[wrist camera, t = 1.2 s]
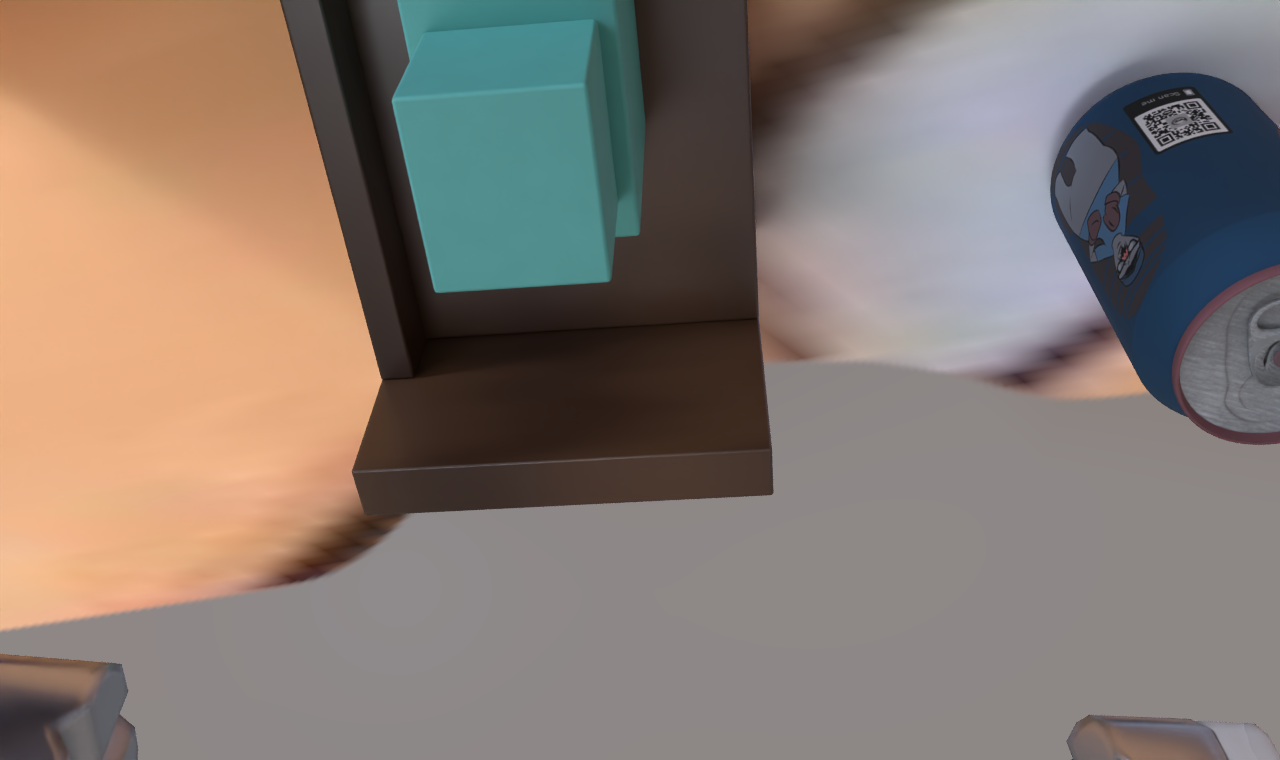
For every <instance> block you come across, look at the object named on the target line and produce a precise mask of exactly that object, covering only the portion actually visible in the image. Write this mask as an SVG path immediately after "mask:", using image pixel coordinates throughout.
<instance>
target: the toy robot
mask: <svg viewBox="0 0 1280 760" xmlns="http://www.w3.org/2000/svg"><path fill="white" fill-rule="evenodd" d="M397 2H398V7H399V12H400V17H401V21H402V26H403V31H404V35H405V40H406V45H407V50H408V54H409V59H410V62H409V64H408V66H407V68H406V70H405V73H404V75H403V77H402V79H401V81H400V83H399V85H398V87H397V89H396V91H395V94H394V96H393V98H392V104H393V109H394V116H395V120H396V125H397V129H398V134H399V138H400V143H401V147H402V151H403V156H404V160H405V165H406V169H407V174H408V178H409V183H410V187H411V191H412V196H413V200H414V205H415V209H416V214H417V218H418V223H419V227H420V231H421V236H422V240H423V245H424V247H425V251H426V256H427V260H428V265H429V269H430V274H431V278H432V283H433V287H434V290H435V292H436V293H447V292H463V291H478V290H494V289H510V288H525V287H541V286H556V285H572V284H588V283H603V282H609V281H610V280H611V278H612V268H613V256H614V244H615V237H627V236H637V235H639V233H640V223H641V203H642V184H643V164H644V145H645V126H646V123H645V112H644V101H643V91H642V80H641V69H640V59H639V48H638V37H637V27H636V16H635V5H634V0H397Z"/></svg>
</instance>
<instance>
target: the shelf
mask: <svg viewBox="0 0 1280 760" xmlns="http://www.w3.org/2000/svg"><path fill="white" fill-rule="evenodd" d="M280 2H281V6H282V10H283V13H284V17H285V21H286V25H287V28H288V32H289V36H290V40H291V43H292V47H293V51H294V54H295V58H296V62H297V66H298V69H299V73H300V77H301V81H302V84H303V88H304V92H305V95H306V99H307V103H308V107H309V110H310V114H311V118H312V122H313V125H314V129H315V133H316V136H317V140H318V144H319V148H320V151H321V155H322V159H323V162H324V166H325V170H326V174H327V177H328V181H329V185H330V189H331V192H332V196H333V200H334V203H335V207H336V211H337V215H338V218H339V222H340V226H341V230H342V233H343V237H344V241H345V244H346V248H347V252H348V256H349V259H350V263H351V267H352V271H353V274H354V278H355V282H356V285H357V289H358V293H359V297H360V300H361V304H362V308H363V312H364V315H365V319H366V323H367V326H368V330H369V334H370V338H371V341H372V345H373V349H374V352H375V356H376V360H377V364H378V367H379V371H380V375H381V378H382V379H383V380H382V383H381V386H380V389H379V392H378V395H377V398H376V401H375V404H374V407H373V410H372V413H371V416H370V419H369V422H368V425H367V428H366V431H365V434H364V437H363V440H362V443H361V446H360V449H359V452H358V455H357V458H356V460H355V463H354V466H353V469H352V474H353V477H354V480H355V484H356V487H357V490H358V494H359V497H360V500H361V504H362V507H363V510H364V513H365V515H385V514H405V513H422V512H423V513H424V512H444V511H463V510H484V509H503V508H524V507H544V506H564V505H581V504H582V505H583V504H603V503H621V502H622V503H623V502H643V501H662V500H681V499H702V498H722V497H742V496H760V495H761V496H762V495H772V494H773V468H772V446H771V435H770V426H769V416H768V405H767V395H766V385H765V375H764V365H763V354H762V344H761V334H760V324H759V305H758V278H757V252H756V226H755V200H754V173H753V147H752V121H751V95H750V69H749V42H748V16H747V0H634V5H635V16H636V27H637V37H638V48H639V59H640V69H641V80H642V91H643V101H644V112H645V123H646V126H645V145H644V164H643V184H642V203H641V223H640V233H639V235H637V236H627V237H615V244H614V256H613V268H612V278H611V280H610V281H609V282H603V283H588V284H572V285H556V286H541V287H525V288H510V289H494V290H478V291H463V292H447V293H436V292H435V290H434V287H433V283H432V278H431V274H430V269H429V265H428V260H427V256H426V251H425V247H424V245H423V240H422V236H421V231H420V227H419V223H418V218H417V214H416V209H415V205H414V200H413V196H412V191H411V187H410V183H409V178H408V174H407V169H406V165H405V160H404V156H403V151H402V147H401V143H400V138H399V134H398V129H397V125H396V120H395V116H394V109H393V104H392V98H393V96H394V94H395V91H396V89H397V87H398V85H399V83H400V81H401V79H402V77H403V75H404V73H405V70H406V68H407V66H408V64H409V62H410V59H409V54H408V50H407V45H406V40H405V35H404V31H403V26H402V21H401V17H400V12H399V7H398V2H397V0H280Z"/></svg>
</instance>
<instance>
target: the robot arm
mask: <svg viewBox="0 0 1280 760" xmlns="http://www.w3.org/2000/svg"><path fill="white" fill-rule="evenodd" d="M127 693H128V689H127V685H126V680H125V677H124V672H123V668H122V664H116V663H106V662H93V661H81V660H69V659H57V658H44V657H32V656H19V655H7V654H0V760H138V745H137V739H136V732H135V727H134V726H133V725H132V724H130V723H129V722H128V721H127V720H126V719H124V718H123V717H122V716H121V715H120V711H121V708H122V706H123V703H124V701H125V698H126V696H127ZM1067 744H1068V746H1069V749H1070V752H1071V755H1072V757H1073V759H1072V760H1280V755H1279V753H1278V751H1277V749H1276V748H1275V746H1274V744H1273V743H1272V740H1271V739H1270V737H1269V736H1268V735H1267V734H1266V733H1265V732H1264V731H1263V730H1262V729H1261V728H1259V727H1258V726H1257V725H1256V724H1248V723H1231V722H1229V723H1228V722H1213V721H1212V722H1211V721H1193V720H1191V719H1175V718H1151V717H1127V716H1102V715H1088V716H1087V717H1085V718H1083V719H1082V720H1080V721H1078V722H1077V723H1076V724H1075V726H1074V728H1073V730H1072V732H1071V734H1070V736H1069V737H1068V739H1067Z"/></svg>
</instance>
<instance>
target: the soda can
mask: <svg viewBox="0 0 1280 760" xmlns="http://www.w3.org/2000/svg"><path fill="white" fill-rule="evenodd" d="M1050 192H1051V204H1052V208H1053V212H1054V215H1055V218H1056V220H1057V223H1058V225H1059V227H1060V228H1061V230H1062V232H1063V234H1064V236H1065V238H1066V240H1067V242H1068V244H1069V245H1070V247H1071V249H1072V251H1073V253H1074V255H1075V257H1076V259H1077V261H1078V263H1079V264H1080V266H1081V268H1082V270H1083V272H1084V274H1085V276H1086V278H1087V280H1088V282H1089V283H1090V285H1091V287H1092V289H1093V291H1094V293H1095V295H1096V297H1097V299H1098V301H1099V302H1100V304H1101V306H1102V308H1103V310H1104V312H1105V314H1106V316H1107V318H1108V319H1109V321H1110V323H1111V325H1112V327H1113V329H1114V331H1115V333H1116V335H1117V337H1118V338H1119V340H1120V342H1121V344H1122V346H1123V348H1124V350H1125V352H1126V354H1127V356H1128V357H1129V359H1130V361H1131V363H1132V365H1133V367H1134V369H1135V371H1136V373H1137V375H1138V376H1139V378H1140V380H1141V382H1142V383H1143V385H1144V386H1145V388H1146V389H1147V390H1148V391H1149V392H1150V393H1151V394H1152V395H1153V396H1154V397H1155V398H1156V399H1157V400H1158V401H1160V402H1161V403H1162V404H1164V405H1165V406H1167V407H1168V408H1170V409H1172V410H1174V411H1175V412H1178V413H1180V414H1182V415H1184V416H1186V417H1189V419H1190V420H1191V421H1192V422H1193V423H1195V424H1196V425H1197V426H1198V427H1200V428H1201V429H1202V430H1204V431H1206V432H1207V433H1209V434H1211V435H1213V436H1216V437H1218V438H1221V439H1224V440H1227V441H1231V442H1235V443H1242V444H1253V445H1254V444H1255V445H1257V444H1258V445H1264V444H1277V443H1280V129H1279V128H1278V127H1277V126H1276V125H1275V124H1274V122H1273V121H1272V120H1271V119H1270V118H1269V117H1268V116H1267V115H1266V114H1265V113H1264V112H1263V111H1262V110H1261V109H1260V108H1259V107H1258V105H1257V104H1256V103H1255V102H1254V101H1253V100H1252V99H1251V98H1250V97H1249V96H1248V95H1247V94H1246V93H1244V92H1243V91H1242V90H1240V89H1239V88H1237V87H1236V86H1234V85H1232V84H1231V83H1228V82H1226V81H1224V80H1222V79H1219V78H1216V77H1212V76H1208V75H1203V74H1196V73H1170V74H1162V75H1157V76H1152V77H1149V78H1145V79H1142V80H1139V81H1136V82H1133V83H1131V84H1128V85H1126V86H1124V87H1122V88H1120V89H1118V90H1116V91H1114V92H1113V93H1111V94H1109V95H1108V96H1106V97H1105V98H1103V99H1102V100H1101V101H1099V102H1098V103H1097V104H1095V105H1094V106H1093V107H1092V108H1091V109H1090V110H1089V111H1088V112H1087V113H1085V115H1084V116H1083V117H1082V118H1081V119H1080V120H1079V121H1078V122H1077V124H1076V125H1075V126H1074V127H1073V129H1072V130H1071V132H1070V133H1069V134H1068V136H1067V138H1066V139H1065V141H1064V143H1063V145H1062V147H1061V149H1060V151H1059V153H1058V156H1057V158H1056V161H1055V164H1054V168H1053V172H1052V178H1051V188H1050Z"/></svg>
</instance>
